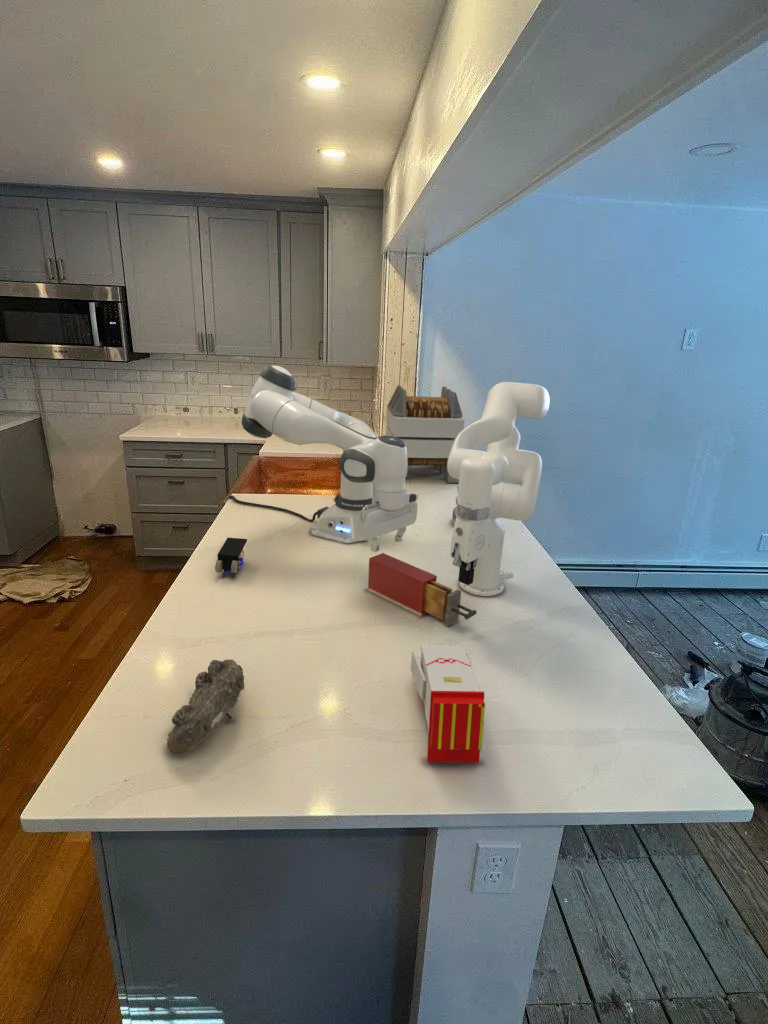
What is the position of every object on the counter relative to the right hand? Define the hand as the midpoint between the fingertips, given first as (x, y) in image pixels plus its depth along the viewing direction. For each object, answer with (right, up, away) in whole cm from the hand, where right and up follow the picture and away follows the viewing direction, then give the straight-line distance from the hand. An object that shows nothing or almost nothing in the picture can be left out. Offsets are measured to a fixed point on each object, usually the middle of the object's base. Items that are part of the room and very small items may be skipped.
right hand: (465, 582), depth 137 cm
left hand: (-19, +8, +17) cm, 27 cm away
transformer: (-2, +36, +138) cm, 142 cm away
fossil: (-53, -22, -29) cm, 64 cm away
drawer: (-7, -9, +10) cm, 15 cm away
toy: (-8, -23, -25) cm, 35 cm away
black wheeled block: (-65, 0, +30) cm, 71 cm away
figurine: (+10, +12, +74) cm, 76 cm away
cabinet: (-15, -7, +17) cm, 24 cm away
